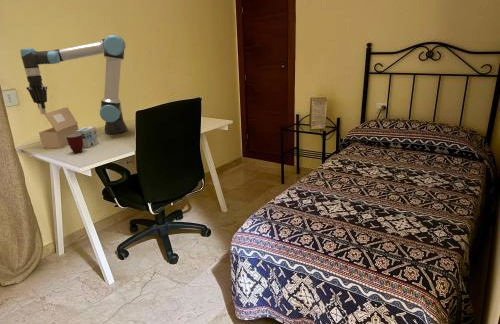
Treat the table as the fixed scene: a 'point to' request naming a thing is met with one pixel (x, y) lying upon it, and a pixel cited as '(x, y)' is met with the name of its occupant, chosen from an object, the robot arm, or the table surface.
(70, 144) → the mug
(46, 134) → the carton
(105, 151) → the table surface
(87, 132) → the light bulb box
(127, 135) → the table surface
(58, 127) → the box lid
